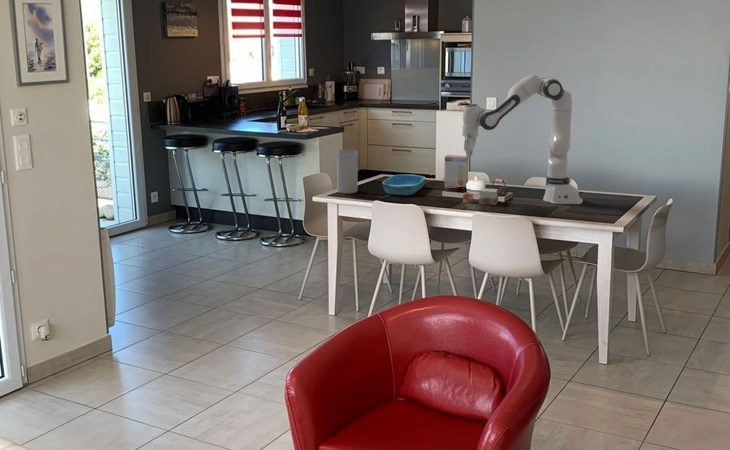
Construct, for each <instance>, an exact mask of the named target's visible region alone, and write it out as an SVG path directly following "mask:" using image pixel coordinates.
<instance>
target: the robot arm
mask: <svg viewBox="0 0 730 450" xmlns="http://www.w3.org/2000/svg"><path fill="white" fill-rule="evenodd" d="M536 94H539V96H542V97H543V98H545V99H546V98H547V99H549V100H551V104H552V105H551V116H550V136H549V137H548V141H547V174H546V178H545V186H546V187H545V191H544V192H545V193H544V195H543V198H542V200H543V202H547V203H551V204H557V205H558V204H559V205H581V204H583V200H584V199H582V198H581V197H580V193H579V191H578V189H577V188H576V187H574V186H573V185H572V184H571V178H570V177H568V152H569V150H570V147H571V121H572V108H573V106H572V105H573V101H572V94H571V93H570V92H569V91H567V90H566V89H565V90H564V87H563V86H562V84H561V82H560V81H559V80H558V79H555V78H551V77H542V78H540V77H539V76H538V75H537V74H534V73H530V74H529V75H528V74H527V76H524V77H523V78H522V79H520V80H519V81H517V82H516V83H515V84H513V85H512V87H511V88H509V90H508V91H507V97H506V99H505V100H504V101H503V102H502V103H500V105H498V106H497V107H495V109H493V110H488V109H486V108H484V107H481V106H480V105H478V104H477V103H471V104H467V105H465V107H464V108H463V113H462V122H463V123H462V134H461V135H462V137H464V140H463V141H464V144H463V151H464V152H465V154H466V155H465V156H466V158H469V159H470V158H471V156H473V151H474V148H475V147H476V144H477V137H478V136H479V127H482V128H483V129H484V130H486V131H492V130H495V129H496V128H497V126H498V125H499V123H500V121H501V120H502V119H503V118H504V117H506V116H507V115H508V113H510V112H511V111H512V110H514V109H515V108H516V107H518V106H520V105H521V104H522V103H524V102H526V101H527V100H528V99H530V98H531V97H532V96H534V95H536ZM580 203H581V204H580Z"/></svg>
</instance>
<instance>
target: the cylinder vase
mask: <svg viewBox="0 0 730 450" xmlns="http://www.w3.org/2000/svg"><path fill="white" fill-rule="evenodd" d="M358 154H359V153H358V151H357V150H353V149H344V150H343V149H340V150H338V151H336V172H337V173H336V176H337V177H336V178H337V179H336V180H337V181H336V184H337V185H336V190H337V193H340V194H345V195H346V194H348V195H349V194H355V193H357V192H358V187H359V186H358V183H359V182H358V170H359V168H358V156H359V155H358Z"/></svg>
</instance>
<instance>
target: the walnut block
mask: <svg viewBox="0 0 730 450" xmlns="http://www.w3.org/2000/svg"><path fill="white" fill-rule="evenodd" d="M481 196H482V194H480V195H479V197H478V205H485V206H486V205H487V206H497V205H498V202H499V195H497V197H496V199H492V198H481Z"/></svg>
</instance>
